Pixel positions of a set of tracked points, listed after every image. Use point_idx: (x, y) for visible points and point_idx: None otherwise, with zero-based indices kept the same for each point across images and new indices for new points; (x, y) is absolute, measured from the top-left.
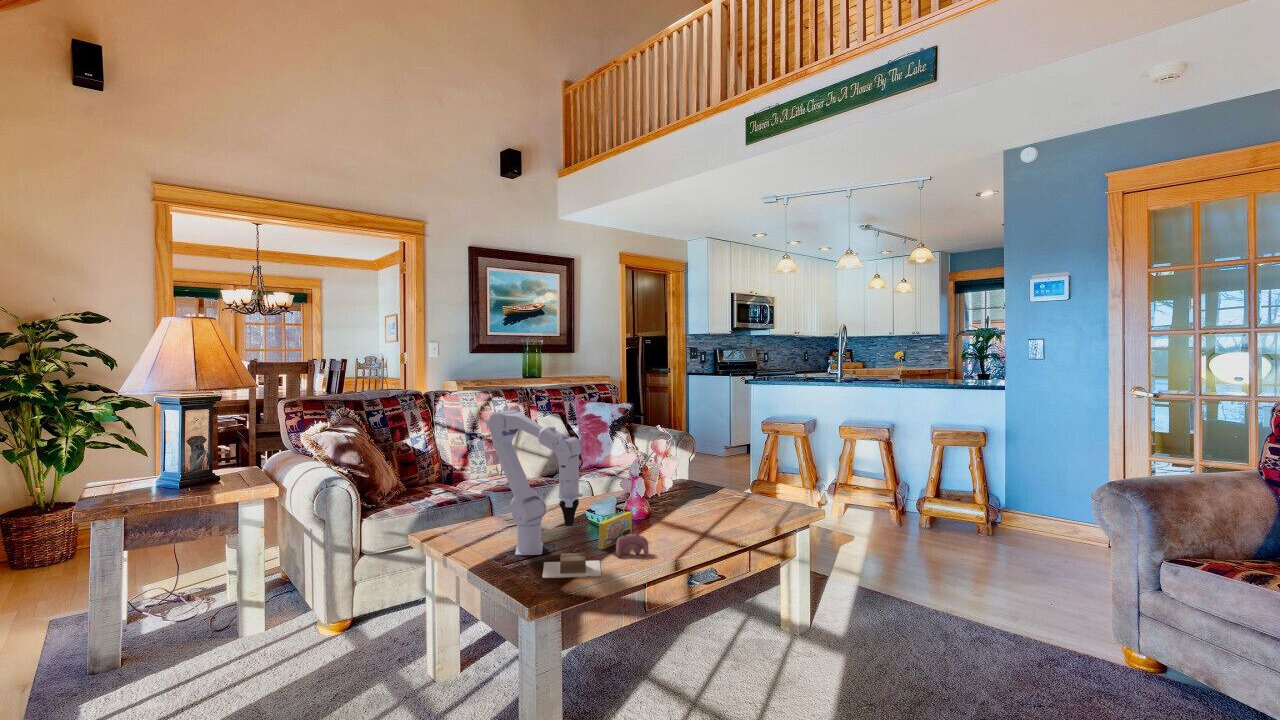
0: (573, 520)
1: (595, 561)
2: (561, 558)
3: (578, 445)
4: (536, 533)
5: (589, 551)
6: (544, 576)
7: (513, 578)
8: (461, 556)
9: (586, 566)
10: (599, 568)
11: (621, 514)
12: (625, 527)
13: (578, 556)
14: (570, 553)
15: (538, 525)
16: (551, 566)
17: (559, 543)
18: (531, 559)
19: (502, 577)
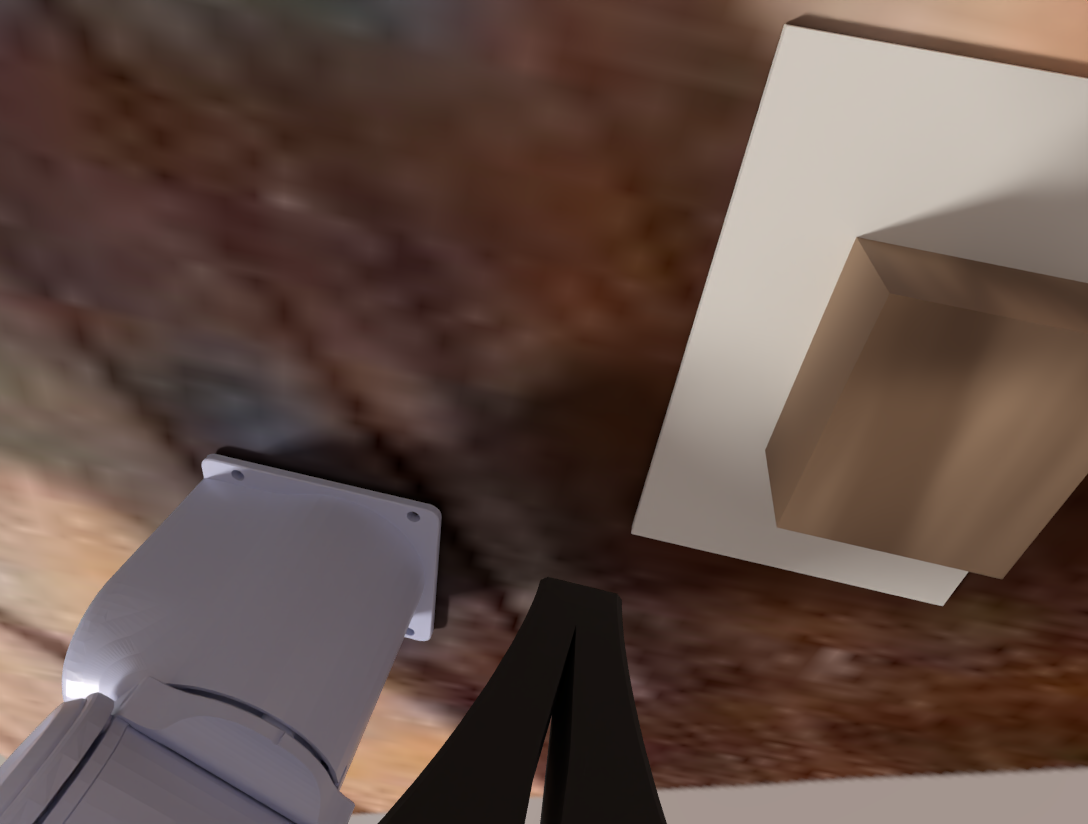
0: (626, 673)
1: (800, 88)
2: (929, 553)
3: None
4: (344, 662)
5: (394, 76)
6: (945, 594)
7: (833, 712)
8: (400, 793)
9: (911, 233)
10: (1076, 91)
11: None
12: None
13: (975, 397)
14: (819, 448)
15: (290, 712)
16: (749, 511)
17: (160, 326)
18: (516, 571)
19: (784, 743)
